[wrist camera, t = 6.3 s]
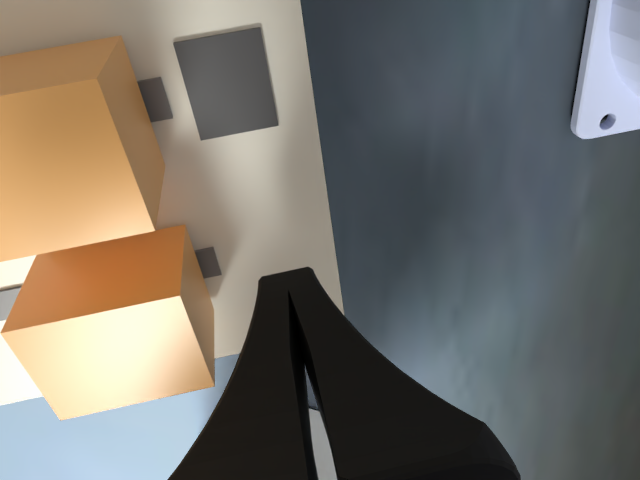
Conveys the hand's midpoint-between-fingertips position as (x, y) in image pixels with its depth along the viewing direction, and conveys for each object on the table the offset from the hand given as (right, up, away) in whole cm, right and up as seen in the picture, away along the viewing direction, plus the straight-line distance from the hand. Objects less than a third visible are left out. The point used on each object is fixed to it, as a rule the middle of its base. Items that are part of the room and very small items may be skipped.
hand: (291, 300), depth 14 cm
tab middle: (-5, +4, -2) cm, 7 cm away
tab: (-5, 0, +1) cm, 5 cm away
